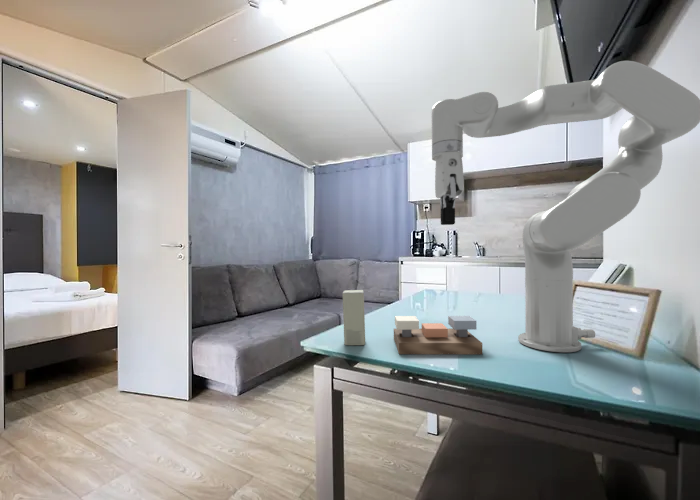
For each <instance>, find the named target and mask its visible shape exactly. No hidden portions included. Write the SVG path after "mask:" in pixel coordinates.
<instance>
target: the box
mask: <svg viewBox="0 0 700 500" xmlns="http://www.w3.org/2000/svg"><path fill="white" fill-rule="evenodd" d="M364 293H365V292H364V290H363V289H350V290H348V289H347V290H343V292H342V313H343V314H342V317H343V343H344V345H345V346H365V344H366V323H365V320H366V318H365V317H366V316H365V295H364Z"/></svg>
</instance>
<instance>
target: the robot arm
mask: <svg viewBox="0 0 700 500" xmlns="http://www.w3.org/2000/svg"><path fill="white" fill-rule="evenodd" d="M622 109H623V110H625V112H627V113H629V114H631V115H632V116H631V117H630V118H629V119H628V120H626V122H625V123H624V124H623V125H622V127H621V128H620V130H619V133H618V137H617V142H618V143H617V144H618V152H617V156H616V157H615V158H614V159H613V160H611V161H610V162H609V163H608V164H606V165H605V166H603V168H601V169H600V170H599V171H597V172H596V173H594V174H592V175H591V176H590V177H589V178H587V179H586V180H584V181H582V182H580V183H578V184H577V185H576V186H575V187H573V188H572V189H571V190H570V192H569V193H568V194H567V196H566V198H565V199H563V200H562V201H560V202H558V204H556V205H555V206H553V207H551V208H548V209H544V210H541V211H539V212H537V213H535V214H533V215H531V216H530V217H529V218H528V219H527V220H526V222H525V224H524V225H523V226H524V227H523V228H522V244H523V253H524V254H523V255H524V267H525V268H524V270H525V271H524V276H525V277H524V280H525V281H524V282H525V283H524V284H525V285H524V290H525V291H524V292H525V293H524V294H525V295H524V299H525V300H524V301H525V303H524V304H525V305H524V306H525V308H524V309H525V311H524V312H525V313H524V314H525V316H524V319H525V330H524V331H525V332H523V333H520V334H519V335H517V336H518V339H517V340H518V341H519V343H520V344H522V345H524V346H526V347H529V348H532V349H536V350H540V351H546V352H550V353H551V352H553V353H575V352H576V353H577V352H579V351H580V350H582V343H581V342H580V341H579V340H581V339H582V338H585V339H594V338H596V331H595V330H594V329H585V328H584V329H581V327H576V326H574V303H573V302H574V295H573V293H574V286H573V285H574V266H573V259H572V258H573V257H572V253H571V251H574V250H576V249H578V248H580V247H581V246H584V245H586V244H587V243H588V242H590V241H591V240H593V239H594V238H596V237H598V236H600V235H601V234H602V233H604V232H605V231H607V230H608V229H610V228H611V227H612V226H614V225H616V224H617V223H618V222H620V221H622V220H623V219H624V218H625V217H627V216H628V215H629V214H631V212H633V211H634V209H635V208H636V207H637V205H638V203H639V201H640V199H641V195H642V194H641V192H642V190H643V189H644V188H645V187H647V186H648V185H649V184H651V182H652V181H653V180H654V179H656V178H657V177H658V175H659V173H660V171H661V169H662V165H663V145H664V144H667V143H670V142H672V141H673V140H675V139H678V138H680V137H683V136H684V135H686V134H688V133H690V132H692V131H693V129H695V128H696V127H697V126H698V125H699V124H700V98H699V97H698V95H697V94H695V93H694V92H693V91H692V90H690V89H688V88H687V87H684V86H683V85H681V84H680V83H678V82H676V81H674V80H673V79H672V78H670V77H668V76H667V75H665V74H663V73H662V72H659V71H658V70H656V69H654V68H652V67H650V66H648V65H646V64H643V63H641V62H638V61H633V60H621V61H617V62H614V63H612V64H610V65H609V66H607V67H606V68H605V69H604V70H603V71H602V72H601V73H600V74H599V75H598V77H597V78H594V79H590V80H583V81H575V82H567V83H559V84H551V85H547V86H543V87H541V88H539V89H537V90H535V91H534V92H532V93H530V94H529V95H528V96H526V97H524V98H523V99H521V100H519V101H517V102H515V103H514V102H513V103H512V104H510V105H509V104H508V105H505V106H502V107H499V99H498V98H497V97H496V96H495V94H493V93H492V92H488V91H481V92H476V93H473V94H469V95H465V96H463V97H460V98H456V99H455V98H446V99H441V100H438V102H436V103H435V104H434V105H433V106H432V109H431V160H432V161H434V162H435V169H434V170H435V171H434V173H435V175H434V178H435V180H434V186H435V187H434V190H435V197H436V199H439V203H440V225H443V226H448V225H455V224H456V198H457V197H459V196H461V195H462V194H463V193H464V190H465V187H464V183H465V182H464V181H465V180H464V166H463V157H464V142H463V141H464V140H463V139H464V138H463V137H464V135H463V133H464V134H465V135H466V136H468V137H471V138H474V139H481V138H482V139H483V138H492V137H500V136H501V137H502V136H507V135H511V134H516V133H520V132H523V131H528V130H532V129H534V128H539V127H541V126H548V125H549V126H550V125H558V124H568V123H575V122H576V123H579V122H588V121H589V122H590V121H598V120H603V119H607V118H609V117H611V116H613V115H615V114H617V113H618V112H619V111H621V110H622Z"/></svg>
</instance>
